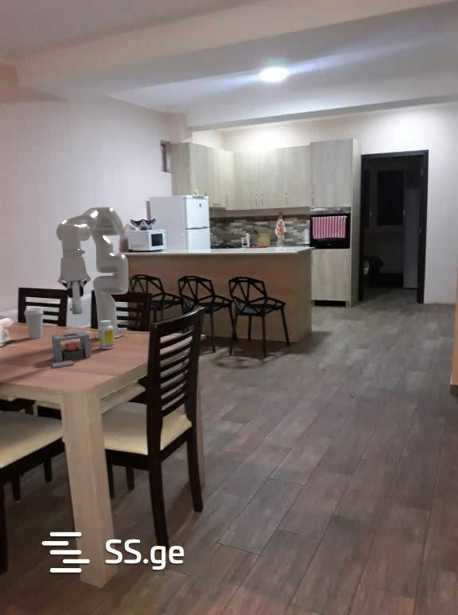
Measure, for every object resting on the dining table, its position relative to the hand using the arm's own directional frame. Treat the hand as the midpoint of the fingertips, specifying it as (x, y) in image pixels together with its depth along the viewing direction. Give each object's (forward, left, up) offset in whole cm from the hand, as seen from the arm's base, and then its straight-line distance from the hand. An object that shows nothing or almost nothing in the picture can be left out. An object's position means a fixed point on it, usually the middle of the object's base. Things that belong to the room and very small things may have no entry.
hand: (75, 296), depth 214 cm
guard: (+3, -3, -27) cm, 27 cm away
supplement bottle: (-15, -12, -27) cm, 33 cm away
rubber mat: (+9, +7, -27) cm, 29 cm away
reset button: (+3, -3, -23) cm, 24 cm away
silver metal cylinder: (0, 0, -7) cm, 7 cm away
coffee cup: (+10, -58, -27) cm, 65 cm away
